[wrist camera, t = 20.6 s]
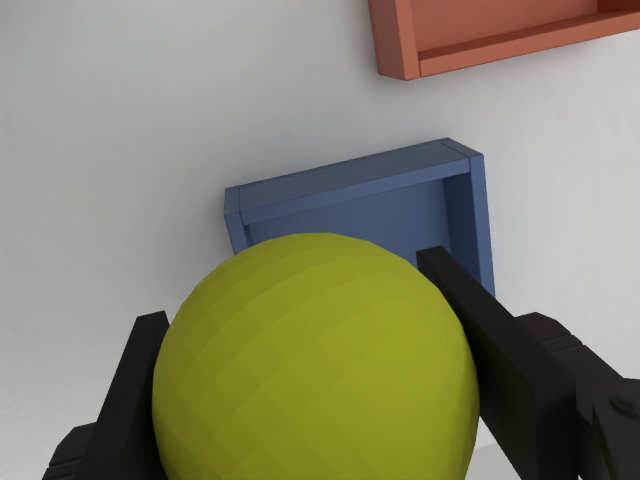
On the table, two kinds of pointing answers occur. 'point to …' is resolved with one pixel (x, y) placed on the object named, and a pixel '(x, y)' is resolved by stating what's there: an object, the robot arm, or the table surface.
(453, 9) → the terracotta bin
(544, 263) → the table surface
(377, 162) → the blue bin
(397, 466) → the ornament
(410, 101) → the table surface
